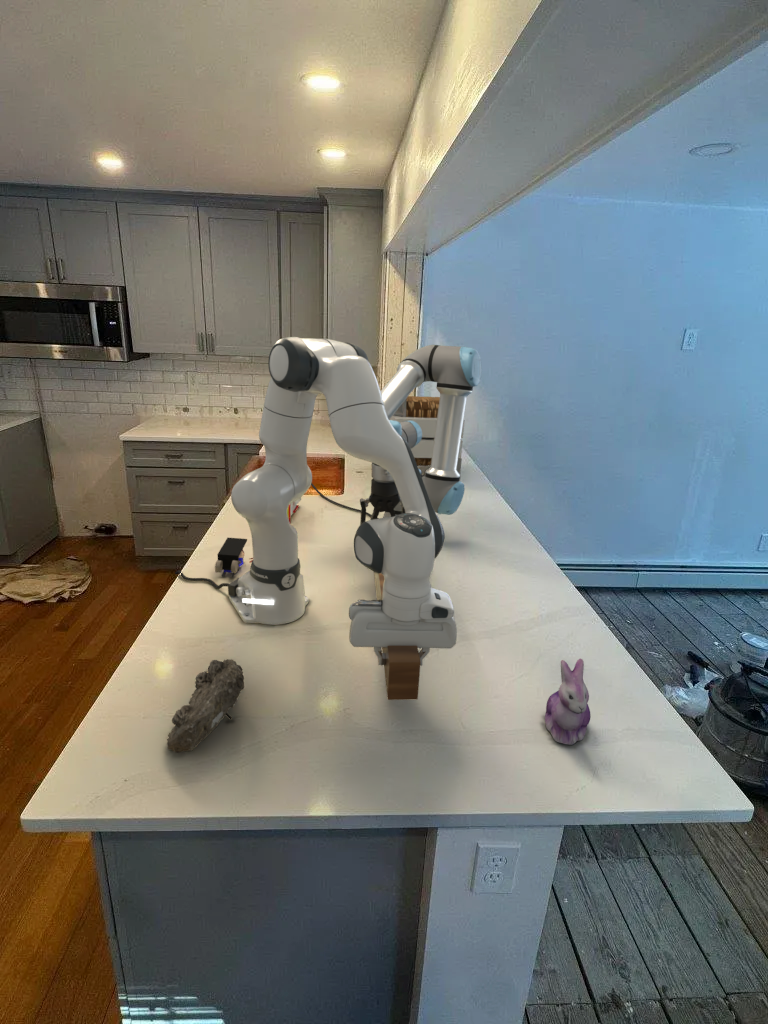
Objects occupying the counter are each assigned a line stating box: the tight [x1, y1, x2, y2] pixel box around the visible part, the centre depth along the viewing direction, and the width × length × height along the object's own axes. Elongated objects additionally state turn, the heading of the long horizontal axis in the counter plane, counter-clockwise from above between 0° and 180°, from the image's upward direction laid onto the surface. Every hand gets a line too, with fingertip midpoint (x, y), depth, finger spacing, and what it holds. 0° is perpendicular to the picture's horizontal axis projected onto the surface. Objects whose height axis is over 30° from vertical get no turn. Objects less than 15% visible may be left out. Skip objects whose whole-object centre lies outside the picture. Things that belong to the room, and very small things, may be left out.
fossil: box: [166, 658, 245, 754], centre depth 106 cm, size 22×10×15 cm
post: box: [373, 572, 421, 701], centre depth 134 cm, size 68×6×8 cm, turn 4°
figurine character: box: [214, 537, 248, 578], centre depth 166 cm, size 7×8×15 cm
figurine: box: [544, 658, 592, 746], centre depth 106 cm, size 9×10×15 cm
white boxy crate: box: [390, 395, 465, 481], centre depth 268 cm, size 34×33×41 cm
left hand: (400, 663), depth 110 cm, fingers closed on post, 5 cm apart
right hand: (382, 556), depth 161 cm, fingers closed on post, 6 cm apart
